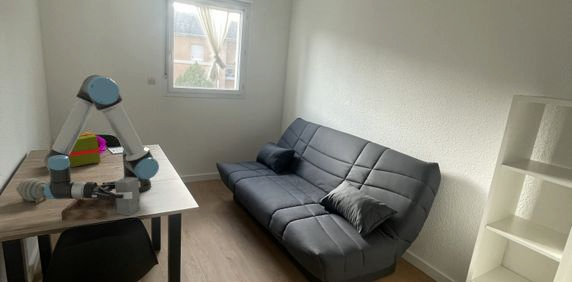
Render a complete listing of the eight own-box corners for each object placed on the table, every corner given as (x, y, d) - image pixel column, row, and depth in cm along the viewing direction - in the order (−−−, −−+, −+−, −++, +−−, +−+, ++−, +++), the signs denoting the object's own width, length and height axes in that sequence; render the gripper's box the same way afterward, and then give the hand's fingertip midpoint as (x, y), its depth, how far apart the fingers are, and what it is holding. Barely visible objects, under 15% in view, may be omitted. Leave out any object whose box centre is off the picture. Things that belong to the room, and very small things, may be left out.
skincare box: (129, 216, 146) (127, 183, 142) (115, 214, 147) (113, 181, 144) (141, 208, 154) (139, 177, 150) (128, 206, 155) (126, 175, 152)
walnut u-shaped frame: (62, 220, 139) (61, 211, 138) (77, 206, 153) (76, 198, 152) (106, 219, 142) (105, 210, 141) (116, 205, 156) (116, 197, 155)
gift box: (69, 173, 203) (112, 164, 219) (64, 143, 194) (109, 136, 211) (62, 159, 216) (103, 152, 232) (57, 131, 208) (100, 125, 224)
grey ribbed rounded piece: (27, 195, 161) (25, 174, 158) (60, 198, 160) (58, 176, 157) (8, 204, 150) (5, 181, 148) (43, 206, 150) (40, 184, 147)
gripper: (97, 187, 157) (143, 187, 161) (73, 210, 133) (128, 209, 137) (96, 173, 156) (142, 173, 160) (72, 193, 132) (127, 192, 136)
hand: (136, 189), depth 148 cm, fingers open, 13 cm apart
